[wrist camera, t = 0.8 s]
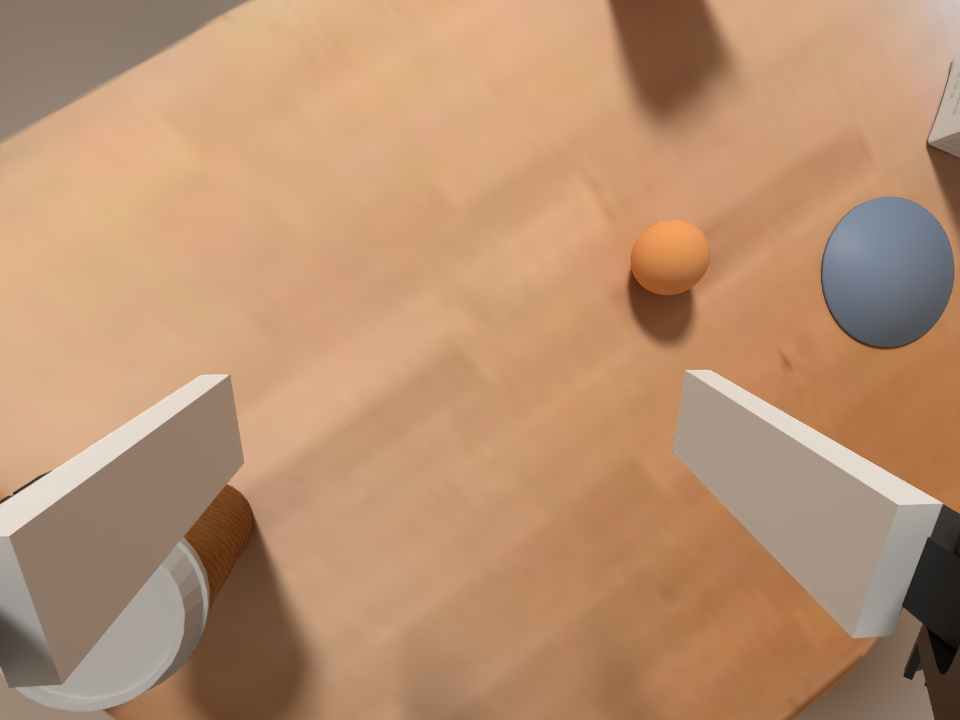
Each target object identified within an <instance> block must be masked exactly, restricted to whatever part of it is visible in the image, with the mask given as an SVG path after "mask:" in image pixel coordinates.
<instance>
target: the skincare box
mask: <svg viewBox="0 0 960 720" xmlns="http://www.w3.org/2000/svg"><path fill="white" fill-rule="evenodd" d="M928 144H929V145H931V146H933V147H936V148H938V149H940V150H942V151H945V152H947V153H949V154H951V155H954V156H956V157H958V158H960V55H958V56H957V57H956V58H954V59H953V62H952V65H951V68H950V75H949V78H948V82H947V85H946V88H945V92H944V95H943V99H942V102H941V106H940V109H939V111H938V114H937V117H936V120H935V123H934V125H933V128H932V131H931V133H930V135H929V138H928Z"/></svg>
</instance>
